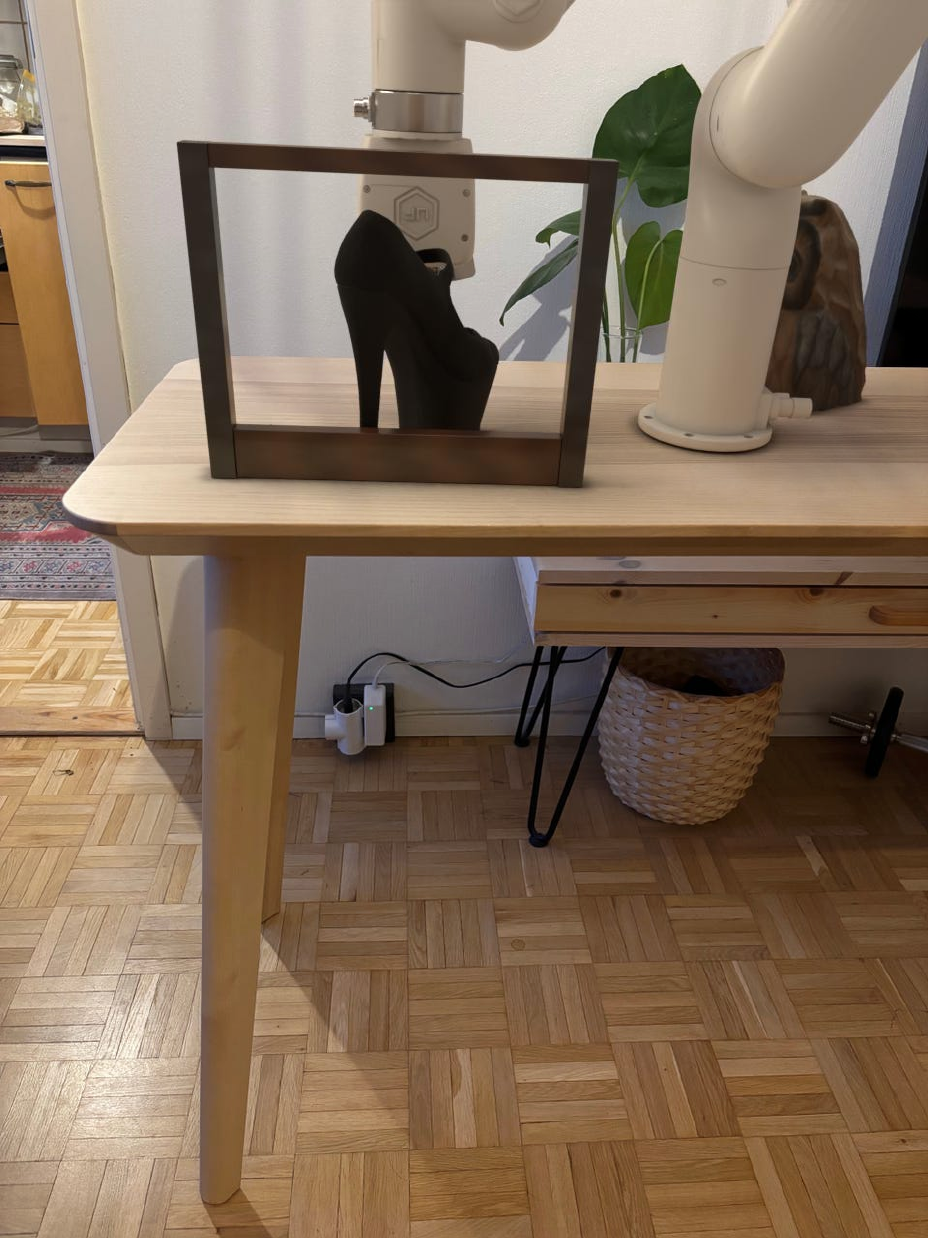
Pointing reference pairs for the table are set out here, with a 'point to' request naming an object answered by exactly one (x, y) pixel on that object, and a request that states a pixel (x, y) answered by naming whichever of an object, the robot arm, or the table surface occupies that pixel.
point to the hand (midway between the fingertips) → (414, 342)
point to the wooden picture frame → (393, 448)
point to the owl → (821, 313)
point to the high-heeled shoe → (410, 331)
